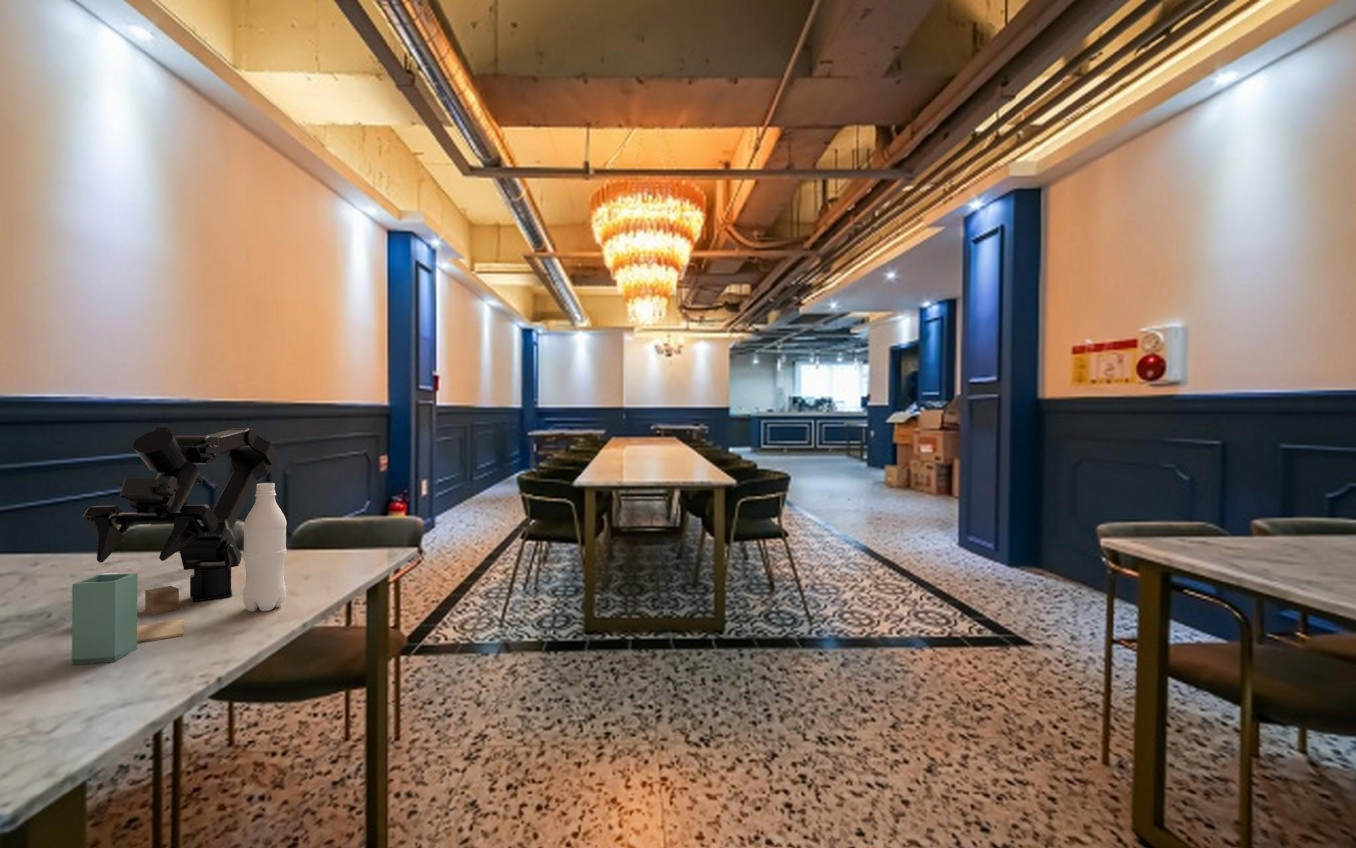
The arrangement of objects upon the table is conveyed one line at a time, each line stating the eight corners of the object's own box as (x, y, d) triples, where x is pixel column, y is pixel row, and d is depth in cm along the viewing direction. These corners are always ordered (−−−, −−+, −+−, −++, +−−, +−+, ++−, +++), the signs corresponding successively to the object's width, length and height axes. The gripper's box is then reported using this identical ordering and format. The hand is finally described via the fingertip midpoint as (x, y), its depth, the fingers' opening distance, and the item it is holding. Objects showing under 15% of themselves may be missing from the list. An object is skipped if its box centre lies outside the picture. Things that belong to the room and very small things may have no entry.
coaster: (184, 621, 112) (184, 619, 112) (183, 635, 105) (183, 633, 105) (118, 631, 106) (118, 629, 106) (113, 647, 99) (113, 644, 99)
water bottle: (264, 615, 116) (265, 486, 116) (233, 612, 118) (234, 485, 117) (294, 604, 123) (295, 482, 123) (265, 601, 125) (266, 481, 124)
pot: (97, 651, 98) (97, 574, 98) (137, 648, 99) (137, 573, 99) (71, 664, 92) (72, 583, 92) (114, 661, 94) (115, 582, 93)
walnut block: (170, 605, 122) (170, 585, 122) (178, 608, 120) (178, 588, 119) (145, 610, 118) (145, 590, 118) (153, 614, 116) (153, 593, 116)
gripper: (90, 460, 106) (37, 535, 95) (209, 460, 110) (171, 532, 99) (122, 498, 114) (76, 571, 103) (232, 497, 118) (199, 567, 107)
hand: (130, 560), depth 103 cm, fingers open, 9 cm apart
